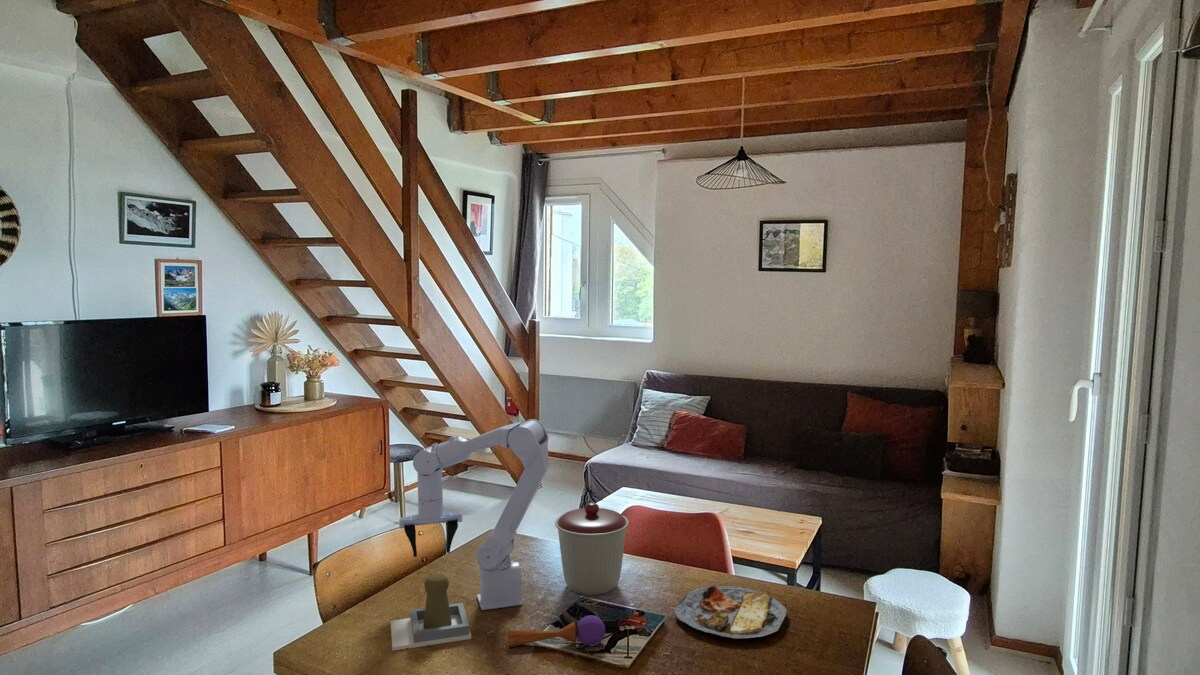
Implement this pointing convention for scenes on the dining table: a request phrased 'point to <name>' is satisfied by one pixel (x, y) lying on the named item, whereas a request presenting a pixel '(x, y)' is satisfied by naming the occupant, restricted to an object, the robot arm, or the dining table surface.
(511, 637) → the kendama
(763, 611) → the food plate
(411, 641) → the socket board
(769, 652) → the dining table surface
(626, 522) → the canister
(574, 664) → the dining table surface
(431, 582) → the olive knobbed tapered peg
